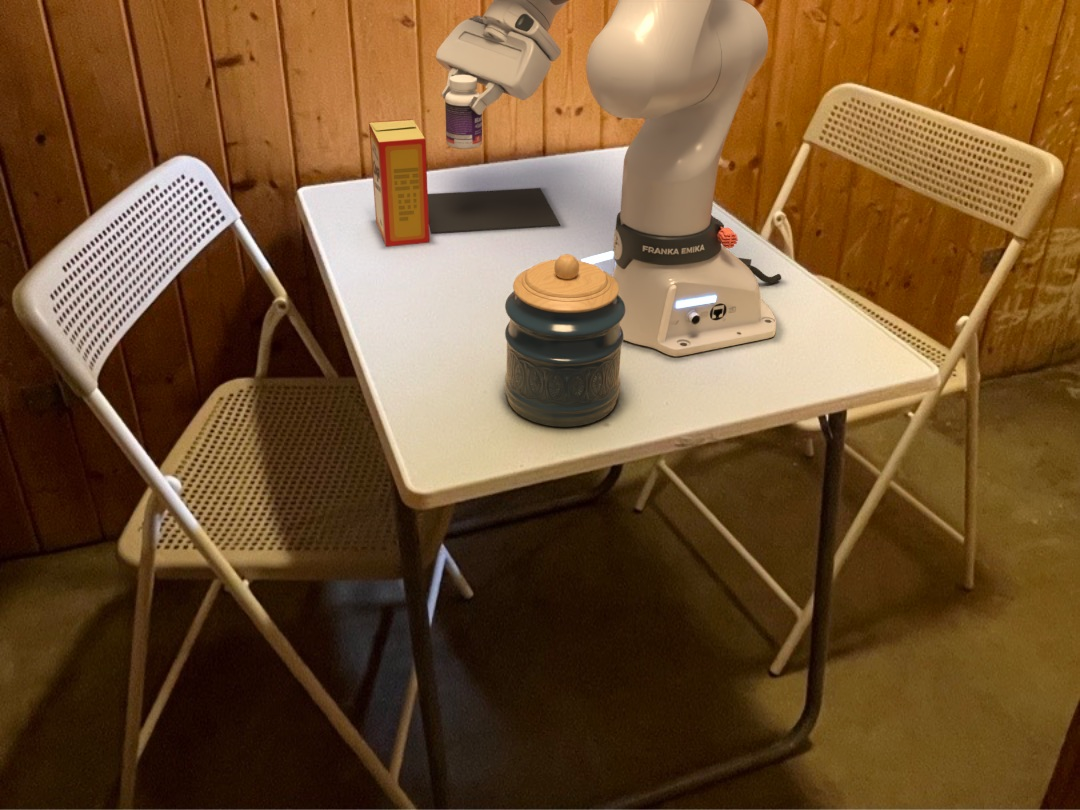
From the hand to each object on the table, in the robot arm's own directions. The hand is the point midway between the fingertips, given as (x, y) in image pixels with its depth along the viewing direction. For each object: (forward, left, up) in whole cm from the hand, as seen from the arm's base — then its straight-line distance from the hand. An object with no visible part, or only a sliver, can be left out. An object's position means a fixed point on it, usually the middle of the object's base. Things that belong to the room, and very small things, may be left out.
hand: (460, 105), depth 147 cm
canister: (-4, +52, -18) cm, 56 cm away
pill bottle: (-1, 0, -6) cm, 6 cm away
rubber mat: (-5, -4, -18) cm, 19 cm away
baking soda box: (+10, +2, -18) cm, 21 cm away
